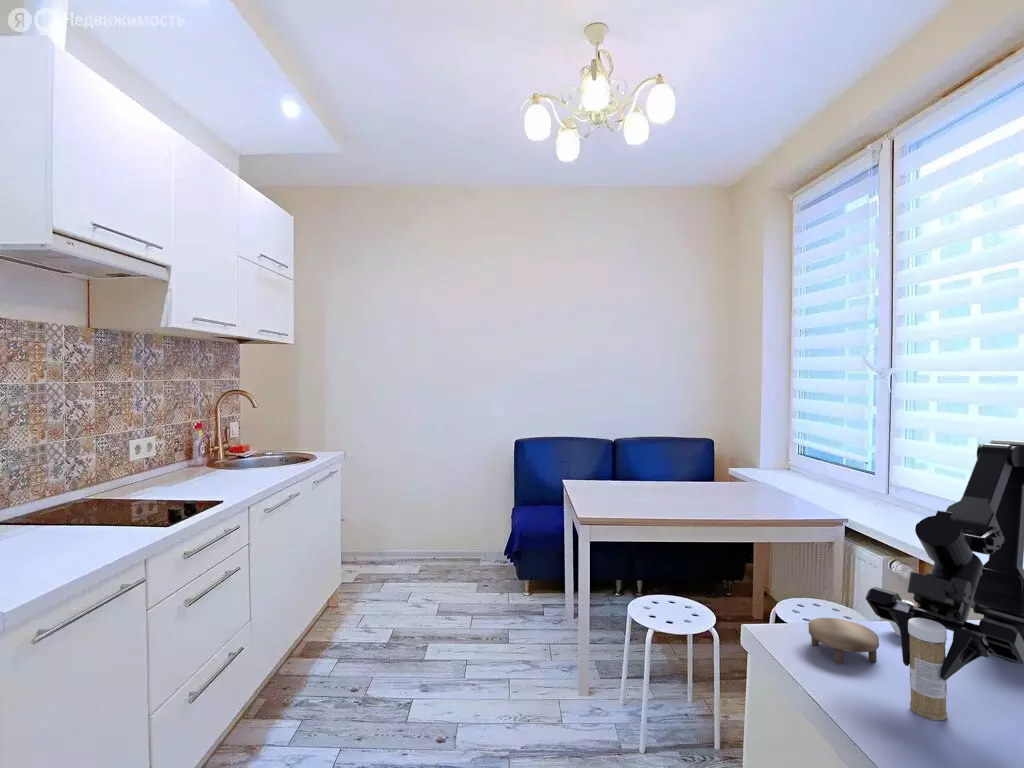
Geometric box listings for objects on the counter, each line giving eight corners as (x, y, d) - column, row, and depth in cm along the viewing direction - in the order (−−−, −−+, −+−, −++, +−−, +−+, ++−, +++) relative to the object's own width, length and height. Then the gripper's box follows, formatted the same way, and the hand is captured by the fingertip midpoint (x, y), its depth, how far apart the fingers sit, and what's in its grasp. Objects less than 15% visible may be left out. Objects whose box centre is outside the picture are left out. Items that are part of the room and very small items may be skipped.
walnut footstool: (849, 636, 102) (848, 616, 102) (894, 666, 91) (894, 643, 91) (796, 639, 101) (795, 619, 101) (835, 670, 90) (835, 646, 90)
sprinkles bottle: (914, 699, 81) (912, 613, 81) (951, 713, 78) (949, 623, 78) (905, 711, 78) (903, 622, 79) (944, 726, 75) (942, 633, 75)
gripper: (869, 538, 88) (836, 619, 83) (1017, 570, 72) (989, 673, 67) (892, 575, 92) (862, 655, 87) (1037, 614, 76) (1012, 714, 71)
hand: (923, 671), depth 77 cm, fingers closed on sprinkles bottle, 4 cm apart
